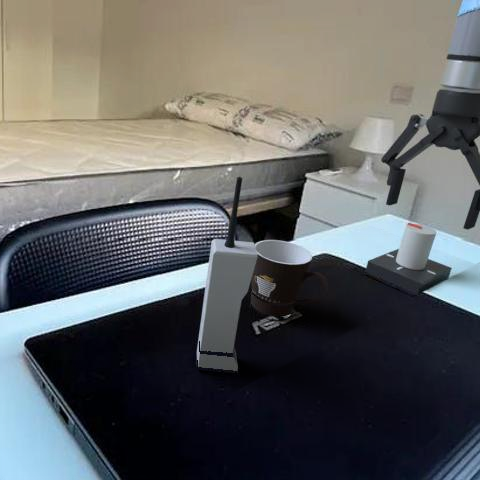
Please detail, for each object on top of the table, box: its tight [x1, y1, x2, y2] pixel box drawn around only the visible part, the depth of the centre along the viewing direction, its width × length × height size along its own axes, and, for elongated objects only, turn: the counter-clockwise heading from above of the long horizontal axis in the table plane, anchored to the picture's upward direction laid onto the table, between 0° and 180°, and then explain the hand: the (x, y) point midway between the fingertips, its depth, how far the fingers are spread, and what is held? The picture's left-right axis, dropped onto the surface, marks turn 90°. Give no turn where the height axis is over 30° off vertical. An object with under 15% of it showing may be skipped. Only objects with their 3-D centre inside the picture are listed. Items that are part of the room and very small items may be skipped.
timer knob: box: [396, 222, 437, 270], centre depth 90 cm, size 5×5×7 cm
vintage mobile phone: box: [196, 176, 258, 372], centre depth 59 cm, size 4×5×25 cm
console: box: [364, 248, 453, 296], centre depth 92 cm, size 10×12×3 cm
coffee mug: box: [250, 239, 330, 316], centre depth 75 cm, size 12×9×10 cm
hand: (427, 215), depth 88 cm, fingers open, 13 cm apart
